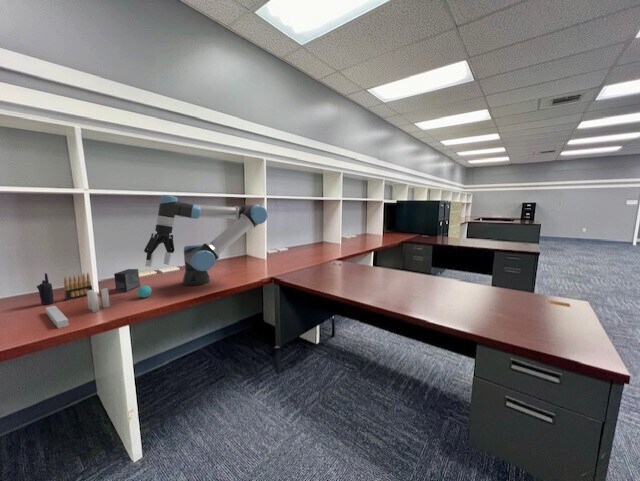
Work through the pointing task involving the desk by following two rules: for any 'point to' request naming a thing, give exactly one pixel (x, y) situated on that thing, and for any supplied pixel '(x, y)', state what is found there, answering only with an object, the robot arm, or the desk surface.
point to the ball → (144, 291)
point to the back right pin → (89, 298)
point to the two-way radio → (46, 291)
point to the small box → (127, 280)
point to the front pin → (105, 297)
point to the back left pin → (94, 302)
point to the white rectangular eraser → (57, 316)
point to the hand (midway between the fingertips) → (157, 265)
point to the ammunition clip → (77, 287)
